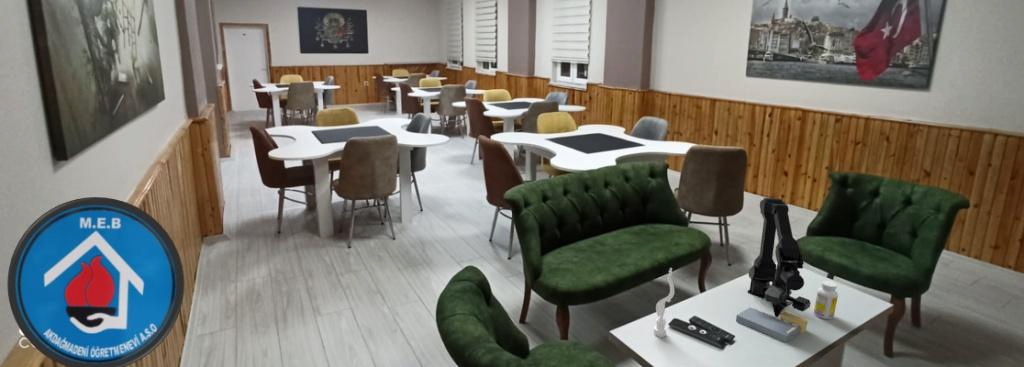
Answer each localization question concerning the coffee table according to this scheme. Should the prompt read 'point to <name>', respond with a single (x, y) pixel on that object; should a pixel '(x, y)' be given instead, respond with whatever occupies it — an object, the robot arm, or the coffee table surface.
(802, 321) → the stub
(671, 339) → the coffee table surface
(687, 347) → the coffee table surface
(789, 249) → the robot arm
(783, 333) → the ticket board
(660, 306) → the decorative finial
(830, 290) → the supplement bottle
